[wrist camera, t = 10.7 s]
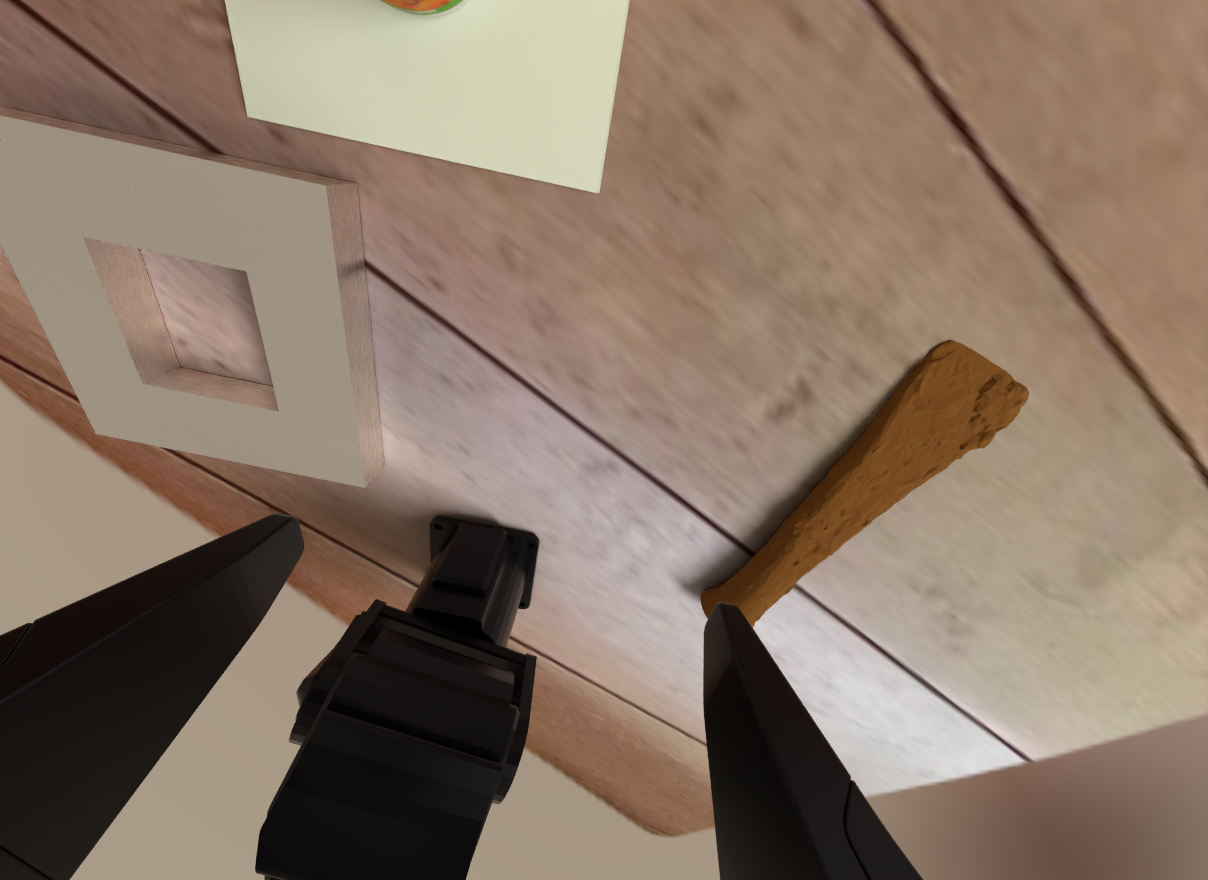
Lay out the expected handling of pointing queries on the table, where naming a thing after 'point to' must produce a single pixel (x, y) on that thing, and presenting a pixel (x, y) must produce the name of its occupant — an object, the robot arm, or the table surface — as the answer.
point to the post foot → (210, 235)
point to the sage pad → (442, 78)
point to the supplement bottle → (426, 6)
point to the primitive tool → (881, 469)
